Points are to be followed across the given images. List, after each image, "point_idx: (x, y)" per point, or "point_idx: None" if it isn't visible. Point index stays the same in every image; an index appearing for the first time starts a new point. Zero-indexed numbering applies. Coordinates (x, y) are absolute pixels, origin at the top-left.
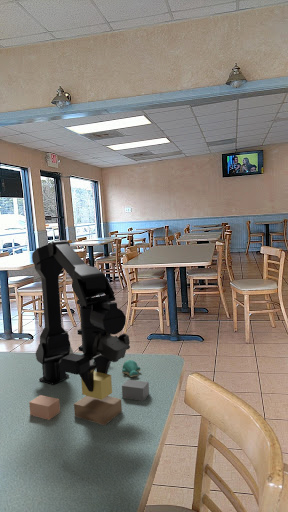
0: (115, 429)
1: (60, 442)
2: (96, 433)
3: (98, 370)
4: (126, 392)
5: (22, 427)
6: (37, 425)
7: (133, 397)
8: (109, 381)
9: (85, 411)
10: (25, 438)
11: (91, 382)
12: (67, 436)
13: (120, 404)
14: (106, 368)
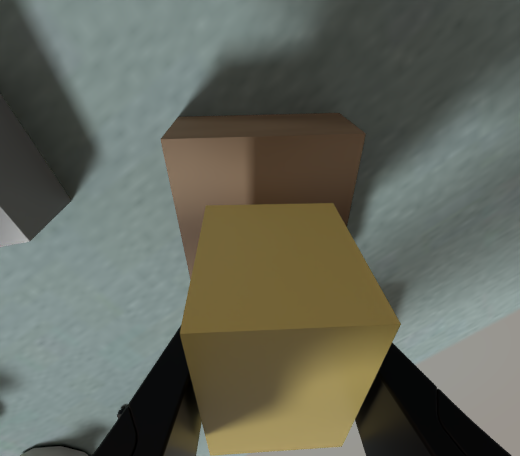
0: (360, 20)
1: (503, 194)
2: (420, 101)
3: (194, 443)
4: (35, 194)
5: (422, 331)
6: (404, 312)
7: (21, 141)
8: (227, 278)
9: None
10: (480, 294)
11: (411, 365)
12: (459, 199)
13: (179, 129)
14: (155, 451)
